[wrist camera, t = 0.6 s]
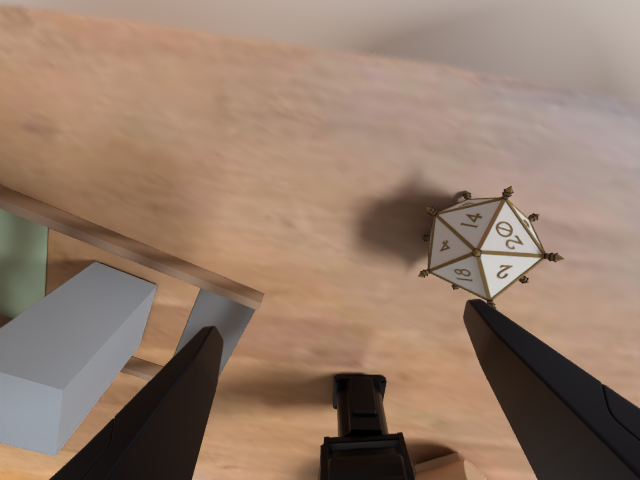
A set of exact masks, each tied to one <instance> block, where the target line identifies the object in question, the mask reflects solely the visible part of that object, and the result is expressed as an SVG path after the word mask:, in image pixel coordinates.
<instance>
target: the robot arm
mask: <svg viewBox="0 0 640 480" xmlns="http://www.w3.org/2000/svg"><path fill="white" fill-rule="evenodd" d="M463 319H464V323H465V326H466V328H467V331H468V334H469V336H470V339H471V342H472V344H473V347H474V350H475V352H476V355H477V358H478V360H479V363H480V365H481V367H482V370H483V372H484V374H485V376H486V378H487V380H488V382H489V384H490V386H491V388H492V390H493V392H494V394H495V396H496V398H497V400H498V402H499V404H500V406H501V407H502V409H503V411H504V413H505V415H506V417H507V419H508V421H509V423H510V425H511V427H512V429H513V431H514V433H515V435H516V437H517V439H518V441H519V443H520V445H521V447H522V449H523V451H524V453H525V455H526V457H527V459H528V461H529V463H530V465H531V467H532V469H533V471H534V473H535V475H536V477H537V479H538V480H640V408H638V407H637V406H635V405H634V404H632V403H631V402H629V401H628V400H626V399H625V398H623V397H622V396H621V395H619V394H618V393H616V392H615V391H613V390H612V389H610V388H609V387H607V386H606V385H604V384H601V382H600V381H599V380H597V379H596V378H594V377H593V376H591V375H590V374H589V373H587V372H586V371H584V370H583V369H581V368H580V367H578V366H577V365H576V364H574V363H573V362H571V361H570V360H568V359H567V358H565V357H564V356H562V355H561V354H560V353H558V352H557V351H555V350H554V349H552V348H551V347H549V346H548V345H547V344H545V343H544V342H542V341H541V340H539V339H538V338H536V337H535V336H534V335H532V334H531V333H529V332H528V331H526V330H525V329H523V328H522V327H521V326H519V325H518V324H516V323H515V322H513V321H512V320H510V319H509V318H508V317H506V316H505V315H503V314H502V313H500V312H499V311H497V310H496V309H495V308H493V307H492V306H490V305H489V304H487V303H486V302H484V301H483V300H481V299H472V300H468V301H467V302H466V306H465V310H464V315H463ZM223 345H224V341H223V338H222V336H221V334H220V333H219V331H218V329H217V327H216V326H214V325H212V326H205V327H203V328H201V329H200V330H199V331H198V333H197V334H196V335H195V336H194V337H193V338H192V339H191V340H190V341H189V342H188V343H187V344H186V345H185V346H184V347H183V348H182V349H181V350H180V351H179V352H178V353H177V354H176V355H175V356H174V357H173V358H172V359H171V360H170V361H169V362H168V363H167V364H166V365H165V366H164V367H163V368H162V369H161V370H160V371H159V372H158V373H157V374H156V375H155V376H154V377H153V378H152V379H151V380H150V381H149V382H148V383H147V384H146V385H145V386H144V387H143V388H142V389H141V390H140V391H139V392H138V393H137V394H136V395H135V397H134V398H133V399H132V400H131V401H130V402H129V403H128V404H127V405H126V406H125V407H124V408H123V409H122V410H121V411H120V412H119V413H118V414H117V415H116V416H115V419H114V418H113V419H112V420H111V421H110V422H109V423H108V424H107V425H106V426H105V427H104V428H103V429H102V430H101V431H100V432H99V433H98V434H97V435H96V436H95V437H94V438H93V439H92V440H91V441H90V442H89V443H88V444H87V445H86V446H85V447H84V448H83V449H82V450H81V451H79V452H78V453H77V454H76V455H75V456H74V457H73V458H72V459H71V460H70V461H69V462H68V463H67V464H66V465H65V466H63V467H62V468H61V469H60V470H59V471H58V472H57V473H56V474H55V475H54V476H53V477H51V478H50V479H49V480H192V477H193V473H194V469H195V466H196V462H197V458H198V455H199V451H200V447H201V443H202V440H203V436H204V432H205V428H206V425H207V421H208V417H209V414H210V410H211V406H212V402H213V399H214V395H215V391H216V387H217V382H218V376H219V370H220V364H221V358H222V352H223ZM385 387H386V378H385V377H384V376H335V377H334V392H333V408H334V409H337V418H338V437H330V438H329V437H324V444H323V445H321V454H320V468H319V475H318V480H415V478H414V474H413V470H412V466H411V463H410V459H409V455H408V452H407V448H406V444H405V441H404V437H403V433H402V432H398V433H397V434H389V433H388V428H387V423H386V417H385V412H384V407H383V398H384V393H385Z"/></svg>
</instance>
